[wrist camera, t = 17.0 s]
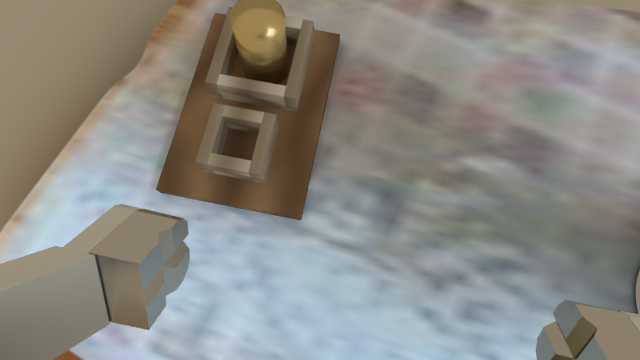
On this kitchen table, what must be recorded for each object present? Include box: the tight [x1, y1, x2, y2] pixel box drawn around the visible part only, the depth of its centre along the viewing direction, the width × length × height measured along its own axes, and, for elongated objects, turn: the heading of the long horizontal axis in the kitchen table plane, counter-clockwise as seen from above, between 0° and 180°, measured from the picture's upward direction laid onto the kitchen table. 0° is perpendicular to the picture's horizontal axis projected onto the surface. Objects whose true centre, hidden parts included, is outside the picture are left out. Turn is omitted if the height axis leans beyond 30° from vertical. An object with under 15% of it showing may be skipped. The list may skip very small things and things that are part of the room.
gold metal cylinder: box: [230, 0, 288, 84], centre depth 38 cm, size 5×5×8 cm
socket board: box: [156, 7, 340, 220], centre depth 39 cm, size 15×22×4 cm
